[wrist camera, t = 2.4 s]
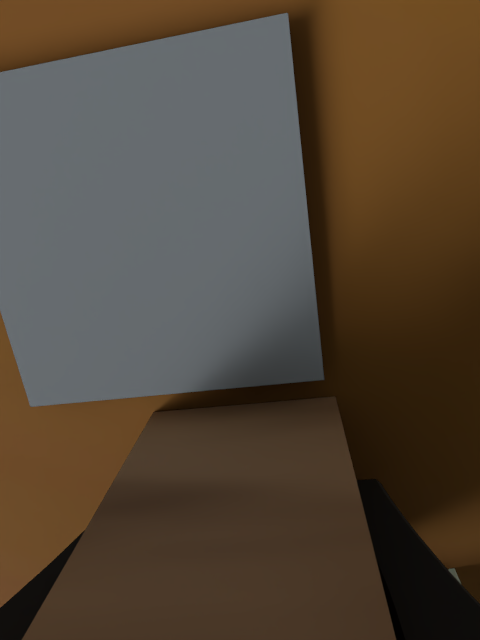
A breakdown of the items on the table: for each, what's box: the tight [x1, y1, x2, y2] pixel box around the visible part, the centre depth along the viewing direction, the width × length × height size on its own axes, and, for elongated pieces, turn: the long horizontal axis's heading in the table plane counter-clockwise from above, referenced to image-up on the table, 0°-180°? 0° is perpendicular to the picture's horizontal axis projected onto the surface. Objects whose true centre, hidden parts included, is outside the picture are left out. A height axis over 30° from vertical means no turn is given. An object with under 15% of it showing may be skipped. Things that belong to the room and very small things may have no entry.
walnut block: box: [22, 397, 396, 640], centre depth 8 cm, size 4×4×6 cm
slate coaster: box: [0, 13, 324, 407], centre depth 9 cm, size 7×7×1 cm
